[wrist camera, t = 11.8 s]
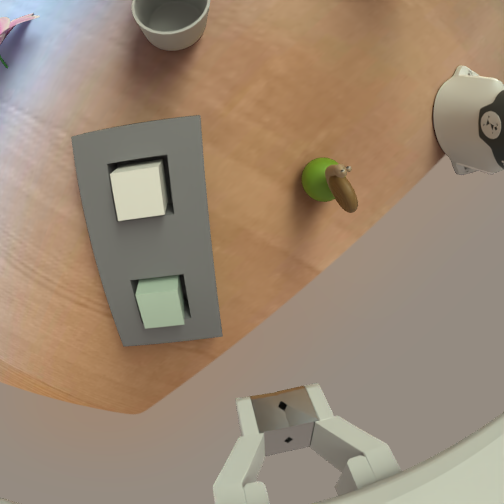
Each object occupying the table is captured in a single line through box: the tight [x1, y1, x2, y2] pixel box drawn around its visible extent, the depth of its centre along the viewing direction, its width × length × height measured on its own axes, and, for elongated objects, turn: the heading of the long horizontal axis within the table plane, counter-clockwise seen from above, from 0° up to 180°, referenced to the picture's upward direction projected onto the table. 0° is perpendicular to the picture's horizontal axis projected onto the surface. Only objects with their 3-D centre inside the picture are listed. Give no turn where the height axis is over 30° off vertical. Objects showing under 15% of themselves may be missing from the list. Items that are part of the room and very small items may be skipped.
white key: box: [110, 159, 168, 221], centre depth 32 cm, size 5×5×5 cm
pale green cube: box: [136, 275, 184, 329], centre depth 38 cm, size 5×5×5 cm
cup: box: [131, 0, 210, 51], centre depth 24 cm, size 7×10×9 cm
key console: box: [71, 115, 223, 346], centre depth 37 cm, size 14×28×5 cm, turn 3°
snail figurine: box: [302, 158, 358, 213], centre depth 34 cm, size 5×6×12 cm
